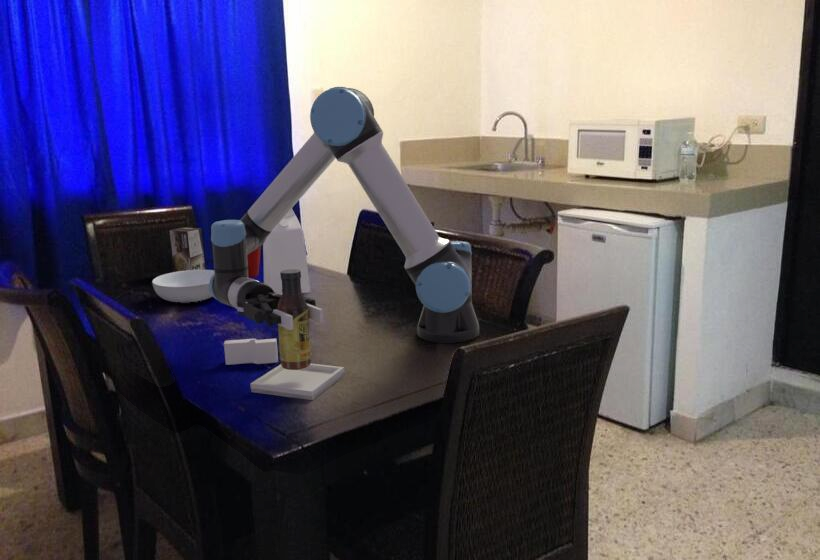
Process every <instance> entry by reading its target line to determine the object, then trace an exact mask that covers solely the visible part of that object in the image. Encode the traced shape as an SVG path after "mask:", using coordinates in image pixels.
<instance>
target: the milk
mask: <svg viewBox="0 0 820 560" xmlns="http://www.w3.org/2000/svg"><path fill="white" fill-rule="evenodd" d="M305 241H306V240H305V234H304V230H303V227H302V225H301V223H300V220H299V219H298V216H297V215H296V214H295V211H294V210H293V208H292V209H291V210H290V211H289V212H288V213H287V214H286V215H285V217H284V218H283V219H282V220H281V221H280V222H279V223H278V225H277V226H276V227H275V228H274V229H273V230H272V231H271V233H270V234H269V235H268V236H267V238H266V240H265V242H264V243H263V244H262V250H263V251H262V252H263V253H262V255H263V283H264V284H267V285H269V286H270V287H271V288H272V289H273V291H274V292H275V293H276V294H281V295H282V294H283V293H282V280H281V275H280V272H281V271H283V270H289V269H297V270H300V271H301V278H300V282H301V292H302V294H308V293H309V292H310V293H311V285H310V278H309V268H308V260H307V259H308V258H307V250H306V243H305Z"/></svg>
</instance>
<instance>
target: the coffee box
mask: <svg viewBox="0 0 820 560" xmlns="http://www.w3.org/2000/svg"><path fill="white" fill-rule="evenodd" d="M202 233H203V231H202V228H199V227H196V228H195V227H178V228H174V229H169V237H170V247H171V254H172V255H171V256H172V263H173V272H179V271H187V270H206V265H205V264H206V263H205V255H204V245H203V235H202Z"/></svg>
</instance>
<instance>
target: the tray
mask: <svg viewBox="0 0 820 560" xmlns="http://www.w3.org/2000/svg"><path fill="white" fill-rule="evenodd" d="M345 373H346V372H345V367H344V366H338V365H337V366H336V365H328V364H319V363H311V362H310V365H309V366H308V367H306V368H303V369H298V370H287V369H285V368H283V367H282V365H281V363H280V364H279V365H278V366H276V367H274V368H272V369H271V370H269V371H267V372H266V373H265V374H263V375H262V376H260V377H258V378H256V379H255V380H254V381H251V382H250V393H255V394H256V393H257V394H264V395H271V396H272V395H273V396H277V397H286V398H291V399H292V398H294V399H301V400H307V401H308V400H309V401H314V400H315V399H316V398H317V397H319V396H321V395H322V394H323V393H324V392H325V391H326V390H328V389H330V387H332V386H333V385H334V384H335V383H336V382H339V381H340V379H342V378H344V376H346V375H345Z"/></svg>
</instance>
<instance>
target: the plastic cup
mask: <svg viewBox="0 0 820 560" xmlns="http://www.w3.org/2000/svg"><path fill="white" fill-rule="evenodd" d="M261 249H262V245H261V246H260V247H259V248H258V249H256V250H254V251H252V252H251V253H249V254H248V255H247V261H248V278H251V279H253V278H256V277H258V276H259V270H260V263H261V261H260V260H261Z"/></svg>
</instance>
